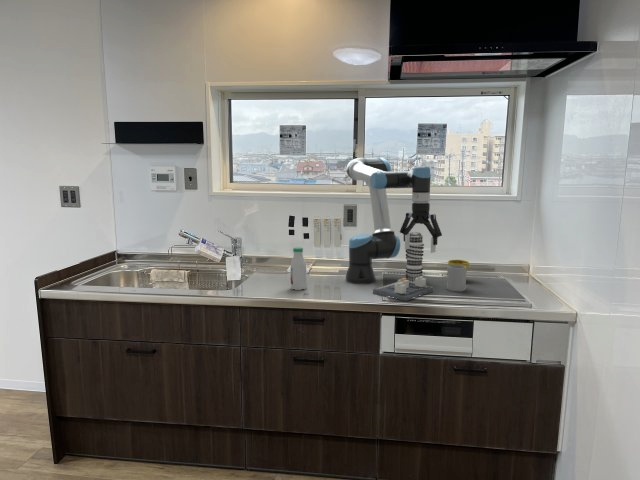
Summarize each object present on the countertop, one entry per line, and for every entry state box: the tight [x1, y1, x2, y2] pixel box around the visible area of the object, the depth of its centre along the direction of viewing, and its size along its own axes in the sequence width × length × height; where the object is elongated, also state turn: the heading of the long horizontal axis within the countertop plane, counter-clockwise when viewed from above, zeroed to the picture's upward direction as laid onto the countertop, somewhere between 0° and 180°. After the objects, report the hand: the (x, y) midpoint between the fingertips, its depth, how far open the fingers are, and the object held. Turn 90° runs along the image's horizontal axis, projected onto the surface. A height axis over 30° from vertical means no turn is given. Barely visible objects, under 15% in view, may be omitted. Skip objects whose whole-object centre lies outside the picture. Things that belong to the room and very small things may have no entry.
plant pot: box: [447, 259, 470, 274], centre depth 227 cm, size 10×10×10 cm
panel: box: [372, 281, 434, 302], centre depth 206 cm, size 18×22×2 cm
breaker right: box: [415, 275, 427, 287], centre depth 208 cm, size 4×3×4 cm
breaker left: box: [395, 282, 406, 294], centre depth 197 cm, size 4×3×4 cm
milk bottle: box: [290, 246, 308, 291], centre depth 214 cm, size 8×8×20 cm
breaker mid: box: [397, 277, 409, 288], centre depth 205 cm, size 4×3×4 cm
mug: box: [446, 265, 467, 292], centre depth 211 cm, size 12×8×11 cm
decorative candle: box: [405, 231, 425, 283], centre depth 224 cm, size 9×9×25 cm
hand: (419, 250), depth 197 cm, fingers open, 12 cm apart
